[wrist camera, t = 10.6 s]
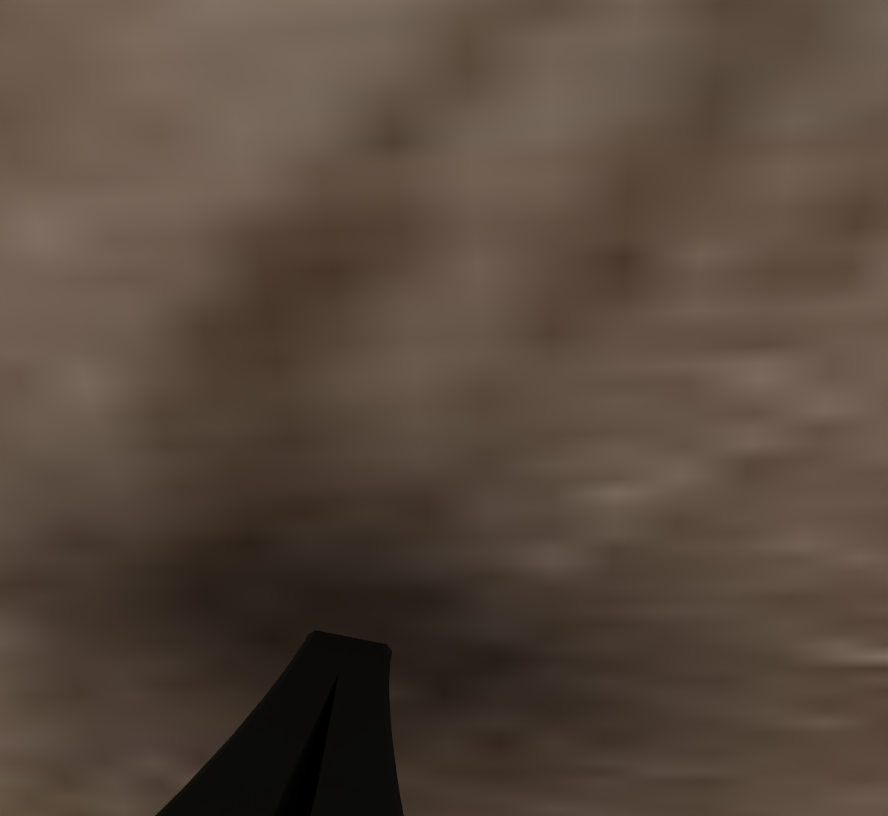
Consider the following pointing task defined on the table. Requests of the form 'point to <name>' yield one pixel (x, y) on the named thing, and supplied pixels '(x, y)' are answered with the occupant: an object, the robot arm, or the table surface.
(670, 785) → the table surface
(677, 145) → the table surface
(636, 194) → the table surface
